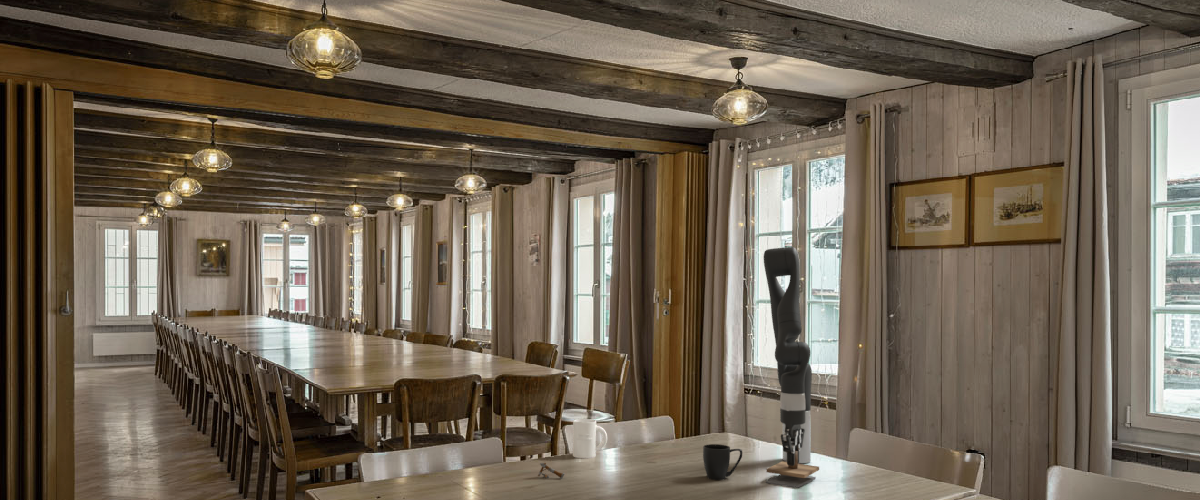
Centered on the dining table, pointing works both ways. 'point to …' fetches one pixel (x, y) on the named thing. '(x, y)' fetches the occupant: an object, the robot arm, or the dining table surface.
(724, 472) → the mug
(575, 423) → the mug
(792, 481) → the mat
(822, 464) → the dining table surface
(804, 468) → the lid
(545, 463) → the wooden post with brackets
